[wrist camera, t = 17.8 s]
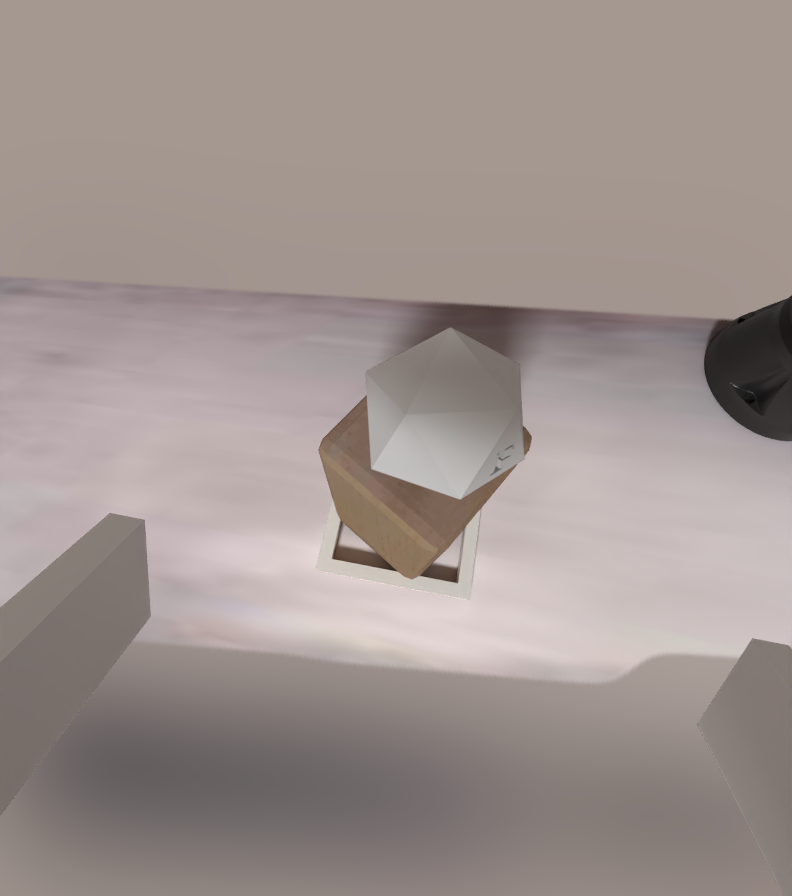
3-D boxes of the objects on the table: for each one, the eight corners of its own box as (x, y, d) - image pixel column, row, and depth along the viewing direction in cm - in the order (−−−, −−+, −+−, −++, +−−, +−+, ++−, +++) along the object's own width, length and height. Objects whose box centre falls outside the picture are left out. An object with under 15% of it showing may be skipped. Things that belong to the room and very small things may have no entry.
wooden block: (476, 506, 49) (543, 433, 30) (411, 585, 46) (440, 558, 27) (400, 443, 51) (418, 336, 32) (333, 515, 48) (309, 444, 29)
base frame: (484, 458, 51) (487, 454, 49) (466, 600, 46) (469, 599, 45) (349, 433, 51) (348, 427, 50) (317, 571, 46) (315, 569, 45)
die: (362, 515, 28) (484, 537, 21) (311, 372, 27) (424, 337, 19) (458, 461, 33) (589, 462, 25) (420, 335, 31) (548, 295, 23)
